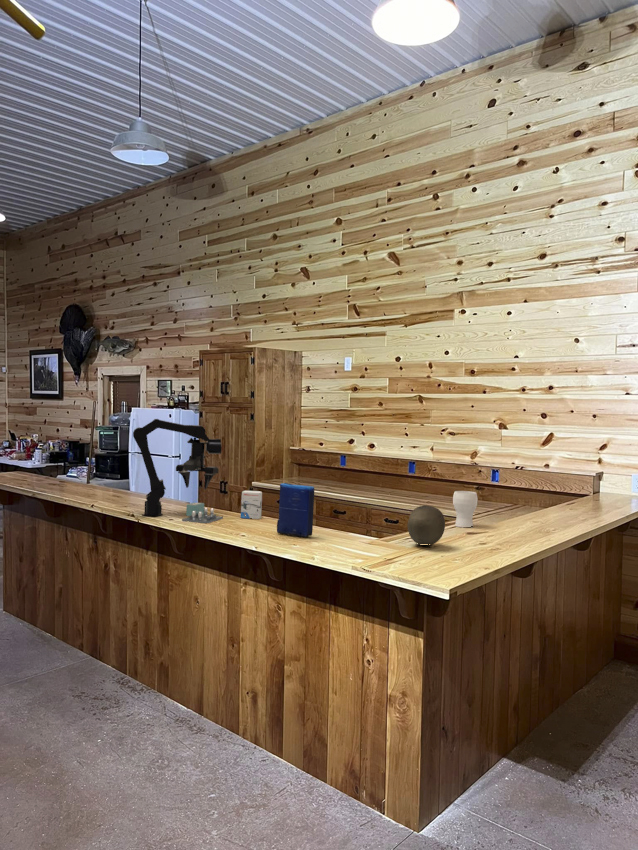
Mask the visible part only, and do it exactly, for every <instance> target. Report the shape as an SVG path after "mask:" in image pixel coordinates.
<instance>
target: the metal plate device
mask: <svg viewBox="0 0 638 850" xmlns="http://www.w3.org/2000/svg"><path fill="white" fill-rule="evenodd" d="M214 511H215V508H214V507H211V508H210V514H209V515H208V512H209V511H208V507H204V514H202V512H201V511H200V512H199V513H196V511H192V515H190V516H187V517H183V518H182V519H181V521H182V522H187V521H189V522H190V523H197V522H198V523H200V524H207V523H208V524H210V523H213V521H214V522H216V521H220V520H222V519H224V516H220V515H217V514H214V513H215V512H214ZM189 522H188V523H189Z"/></svg>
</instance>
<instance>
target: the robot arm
mask: <svg viewBox="0 0 638 850" xmlns="http://www.w3.org/2000/svg"><path fill="white" fill-rule="evenodd" d="M157 429H161V430H166V431H172V432H177V433H182V434H185V435H188V436H190V438H189V440H187V443H188V444H191V449H190V450H191V451H190V455H189V457H188V460H186V461H185V462H183V463H182V464H177V465H176V466H175V471H176V472H178V474H180V475H181V476H182V479H183V482H184V484H185V488H187V489H188V488H189V485H190V477H191V472H201V473H202V472H204V474H203V476H204V485H203V486H204V488H203V489H204V490H207V488H208V487H209V485H210V482H211V480H212V479H213V478H214V476H216V475H217V474H219V468H218V466H206V464H204V463H205V459H206V457H207V456H206V455H205V452H207V454H208V455H221V454H222V439H221V438H209V436H207V434H206V429H205V427H204V426H202V425H200V424H195V425H194V424H181V423H177V422H176V423H175V422H173V421H172V422H171V421H166V420H161V419H159V418H154V419H153V420H152V421H150V422H148V423H147V424H145V425H144V426H142V427H136V428H135V429H134V430H133V431H132V432H133V433H132V437H133V439H134V441H135V443H136V445H137V446H138V448H139V450H140V453H141V457H142V459H143V463H144V465H145V469H146V472H147V475H148V478H149V485H150V491H149V492H148V493H147V494H146V495H145V498H146V500H145V501H144V511H143V514H142V515H141V516H142V517H143V516H144V517H152V518H154V517H159V516H160V517H161V516H163V513H162V512H163V511H162V510H163V509H162V505H163V504H162V501H160V500H161V499H163V498H164V496H165V494H166V492H165V490H167V489H166V487H165V484H164V479H163V478H162V479H159V477H158V473H157V470H156V467H155V464H154V461H153V459H152V455H151V452H150V448H149V441H148V435H149V434H151V433H152V432H154V431H156V430H157ZM193 438H194V439H193ZM195 438H196V439H195ZM200 439H201V440H203V441H201V440H200Z"/></svg>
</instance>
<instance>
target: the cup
mask: <svg viewBox="0 0 638 850" xmlns="http://www.w3.org/2000/svg"><path fill="white" fill-rule="evenodd" d="M478 499H479V498H478V493H477V492H476V491H471V490H470V491H469V490H455V491H454V493H453V496H452V503H453V508H454V510H455V512H456V515H455V516H456V519H455V522H454V523H455V524H454V526H455V527H458V528H463V527H471V526H473V527H474V522H473V519H474V518H473V516H474V513H475V511H476V509H477V506H478ZM471 528H472V527H471Z"/></svg>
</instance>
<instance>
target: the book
mask: <svg viewBox="0 0 638 850" xmlns="http://www.w3.org/2000/svg"><path fill="white" fill-rule="evenodd" d="M314 504H315V487H314V486H312V485H311V486H310V485H301V484H300V485H299V484H293V483H288V482H283V483H280V484H279V501H278V519H277V523H276V533H277V534H282V535H285V536H291V537H300V538H301V537H303V538H304V537H305V538H306V537H307V538H308V537H311V536H312V535H313V530H314V529H313V527H314V526H313V525H314V509H315V508H314V506H315V505H314Z"/></svg>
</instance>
